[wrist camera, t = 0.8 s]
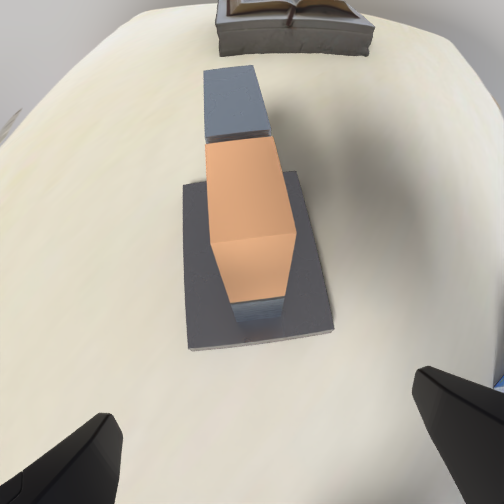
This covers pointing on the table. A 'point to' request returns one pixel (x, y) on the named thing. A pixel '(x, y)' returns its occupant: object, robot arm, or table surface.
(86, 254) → the table surface
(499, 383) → the medicine box
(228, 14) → the bible
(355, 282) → the table surface
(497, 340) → the table surface
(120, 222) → the table surface
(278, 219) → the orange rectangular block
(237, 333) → the stand
